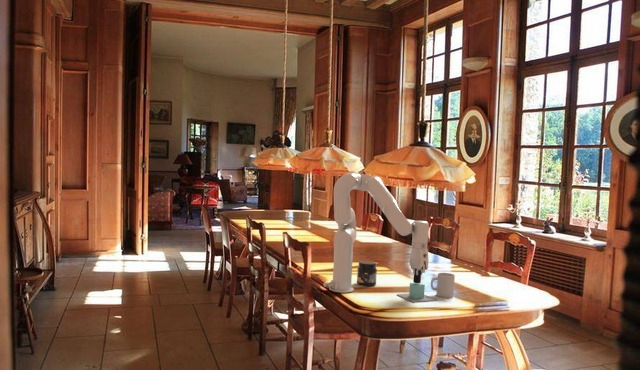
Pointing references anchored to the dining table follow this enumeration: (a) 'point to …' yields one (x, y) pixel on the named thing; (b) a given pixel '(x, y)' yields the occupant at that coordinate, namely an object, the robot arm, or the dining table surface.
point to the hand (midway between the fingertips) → (416, 282)
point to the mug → (444, 285)
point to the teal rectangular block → (416, 290)
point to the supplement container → (366, 273)
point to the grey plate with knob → (413, 300)
